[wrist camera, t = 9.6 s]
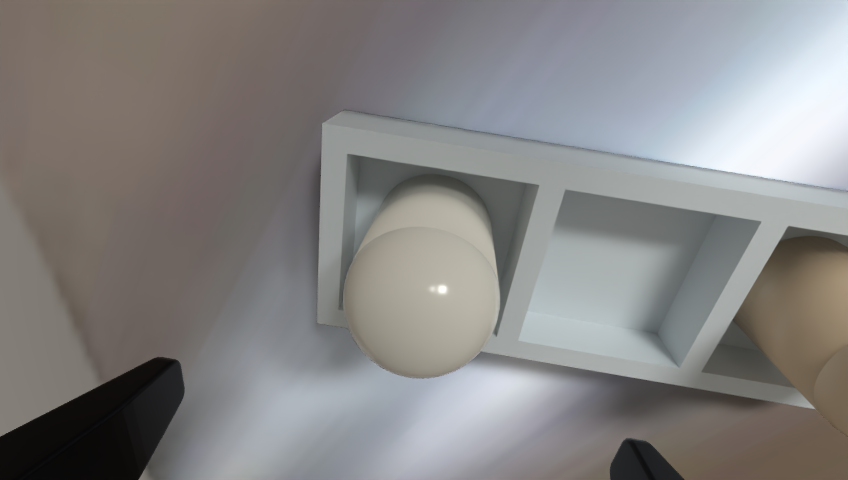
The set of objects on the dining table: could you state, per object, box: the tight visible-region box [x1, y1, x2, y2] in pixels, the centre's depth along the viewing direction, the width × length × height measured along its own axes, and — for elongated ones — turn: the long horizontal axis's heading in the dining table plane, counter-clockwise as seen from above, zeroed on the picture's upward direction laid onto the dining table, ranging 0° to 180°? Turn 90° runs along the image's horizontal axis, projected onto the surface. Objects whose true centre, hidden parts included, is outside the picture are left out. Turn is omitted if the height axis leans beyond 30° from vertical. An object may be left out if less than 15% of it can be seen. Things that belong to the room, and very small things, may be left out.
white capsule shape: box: [343, 174, 500, 379], centre depth 13 cm, size 4×4×7 cm
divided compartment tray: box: [317, 110, 848, 409], centre depth 15 cm, size 21×8×2 cm, turn 81°
